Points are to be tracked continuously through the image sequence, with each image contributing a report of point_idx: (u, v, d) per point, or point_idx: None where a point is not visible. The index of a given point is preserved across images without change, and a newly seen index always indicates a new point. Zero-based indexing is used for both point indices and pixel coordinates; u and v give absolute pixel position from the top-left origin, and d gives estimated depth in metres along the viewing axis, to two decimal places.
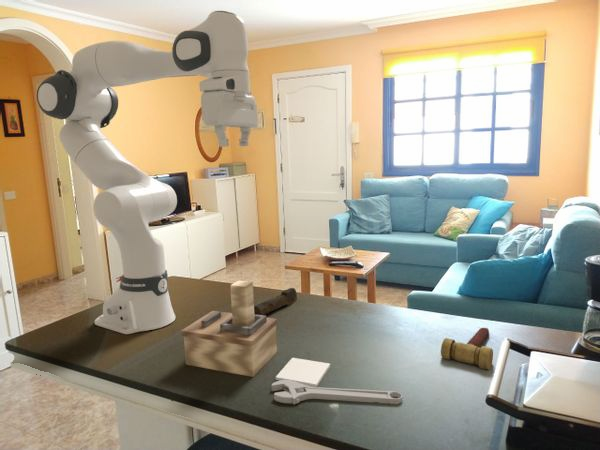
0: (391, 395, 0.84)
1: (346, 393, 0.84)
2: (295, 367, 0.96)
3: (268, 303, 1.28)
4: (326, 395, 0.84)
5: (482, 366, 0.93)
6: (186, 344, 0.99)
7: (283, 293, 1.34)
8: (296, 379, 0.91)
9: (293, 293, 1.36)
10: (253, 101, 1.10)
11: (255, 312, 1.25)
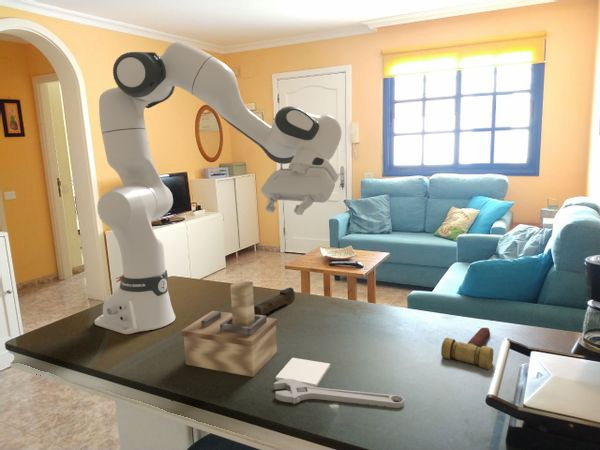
0: (393, 399, 0.83)
1: (347, 395, 0.84)
2: (295, 367, 0.96)
3: (268, 303, 1.28)
4: (327, 396, 0.84)
5: (482, 366, 0.94)
6: (186, 344, 0.99)
7: (282, 293, 1.35)
8: (296, 379, 0.91)
9: (291, 293, 1.37)
10: None
11: (255, 312, 1.24)
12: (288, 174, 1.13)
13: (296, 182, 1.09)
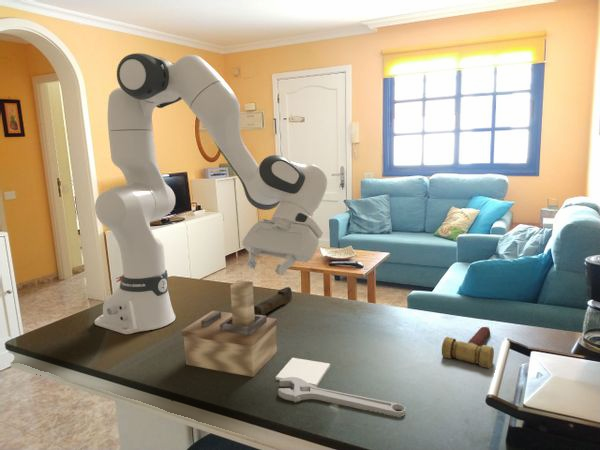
0: (394, 407, 0.80)
1: (348, 398, 0.83)
2: (295, 367, 0.96)
3: (267, 303, 1.28)
4: (328, 398, 0.83)
5: (483, 365, 0.94)
6: (186, 344, 0.99)
7: (280, 292, 1.35)
8: None
9: (289, 292, 1.37)
10: None
11: (256, 312, 1.24)
12: (270, 228, 1.08)
13: (279, 238, 1.04)
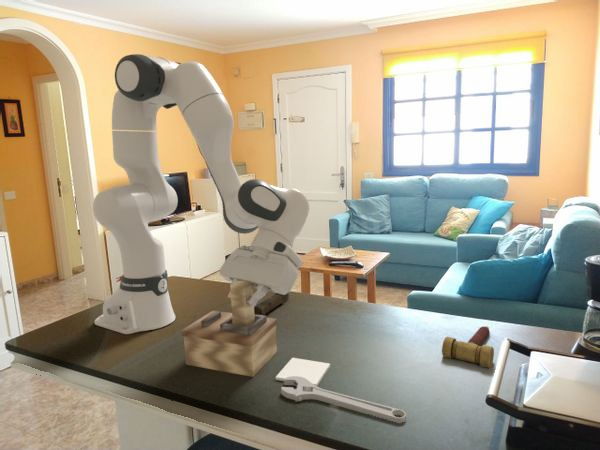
0: (395, 413, 0.79)
1: (349, 401, 0.82)
2: (295, 367, 0.96)
3: (267, 303, 1.28)
4: (329, 399, 0.83)
5: (483, 364, 0.94)
6: (186, 344, 0.99)
7: None
8: None
9: None
10: None
11: (256, 312, 1.24)
12: (249, 256, 1.03)
13: (256, 267, 0.99)
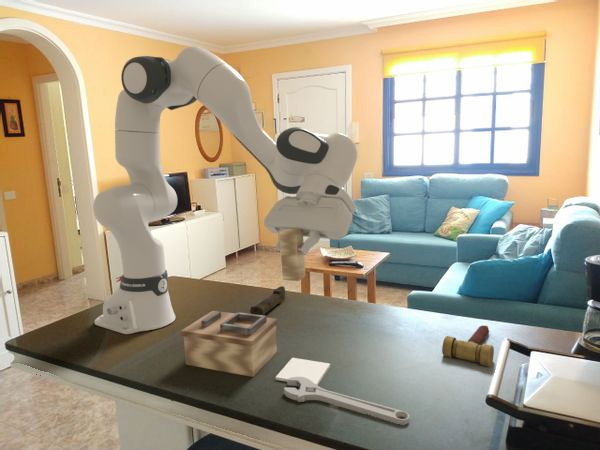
0: (398, 414, 0.78)
1: (352, 402, 0.81)
2: (295, 367, 0.96)
3: (266, 302, 1.28)
4: (332, 400, 0.83)
5: (483, 363, 0.94)
6: (186, 344, 0.99)
7: (275, 292, 1.36)
8: None
9: (284, 291, 1.38)
10: None
11: (257, 312, 1.24)
12: (296, 204, 0.95)
13: (306, 214, 0.92)
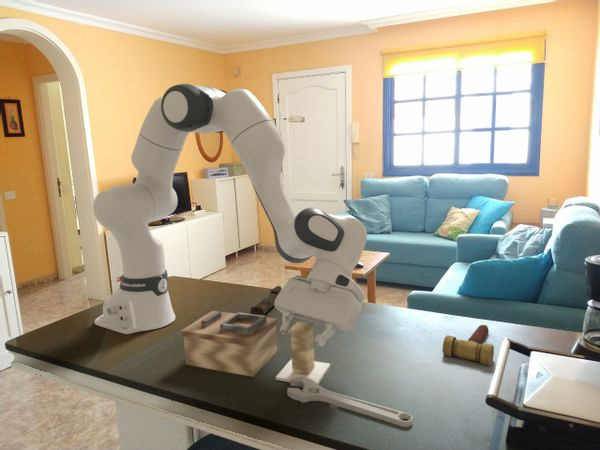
0: (402, 416, 0.77)
1: (355, 403, 0.81)
2: None
3: (266, 302, 1.28)
4: (335, 401, 0.82)
5: (484, 362, 0.95)
6: (186, 344, 0.99)
7: (273, 292, 1.36)
8: None
9: None
10: None
11: (258, 312, 1.24)
12: (306, 288, 0.98)
13: (317, 302, 0.94)
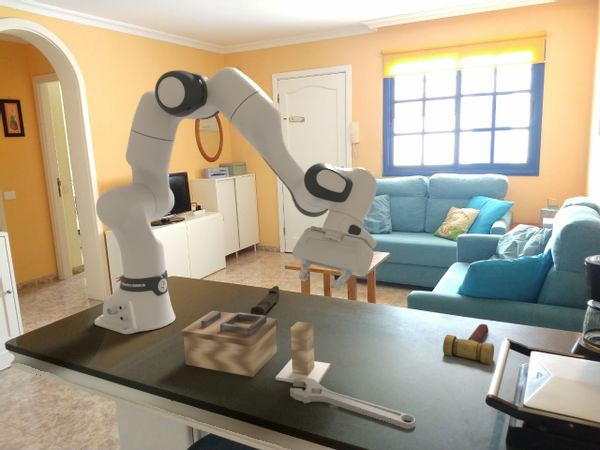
0: (404, 418, 0.77)
1: (358, 404, 0.81)
2: None
3: (266, 302, 1.28)
4: (337, 402, 0.82)
5: (484, 361, 0.95)
6: (186, 344, 0.99)
7: (271, 292, 1.36)
8: None
9: (278, 291, 1.39)
10: None
11: (258, 312, 1.24)
12: (321, 238, 1.05)
13: (331, 250, 1.01)
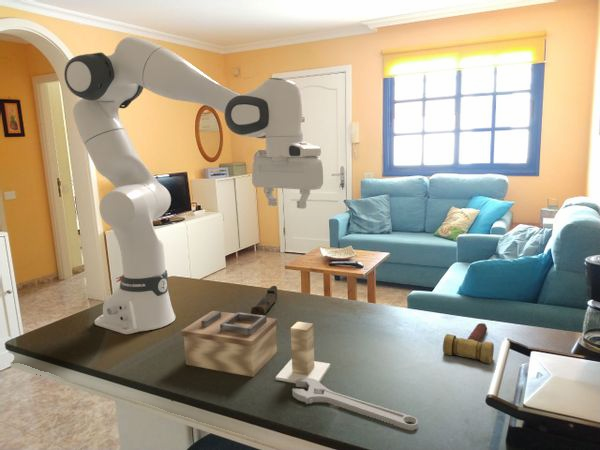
0: (407, 419, 0.77)
1: (360, 405, 0.80)
2: None
3: (265, 302, 1.28)
4: (340, 402, 0.82)
5: (484, 360, 0.96)
6: (186, 344, 0.99)
7: (270, 291, 1.36)
8: (296, 379, 0.91)
9: (276, 290, 1.39)
10: None
11: (259, 312, 1.24)
12: (270, 163, 1.07)
13: (284, 174, 1.04)
